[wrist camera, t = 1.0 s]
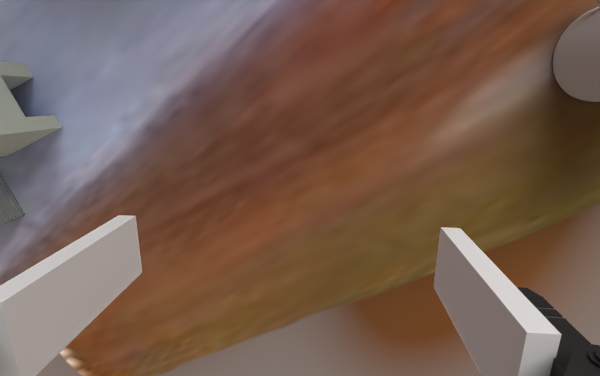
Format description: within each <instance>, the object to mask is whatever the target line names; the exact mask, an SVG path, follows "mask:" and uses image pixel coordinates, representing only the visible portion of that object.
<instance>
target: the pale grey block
mask: <svg viewBox="0 0 600 376" xmlns="http://www.w3.org/2000/svg"><path fill="white" fill-rule="evenodd" d="M23 215H25V213H24V212H23V210H22V209H21V207H20V206H19V204H18V203H17V201H16V199H15V198H14V196H13V195H12V193H11V192H10V190H9V188H8V187H7V185H6V184H5V182H4V181H3V179H2V178H1V176H0V225H1V224H4V223H7V222H9V221H12V220H14V219H17V218H19V217H21V216H23Z"/></svg>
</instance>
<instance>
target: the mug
mask: <svg viewBox="0 0 600 376" xmlns="http://www.w3.org/2000/svg"><path fill="white" fill-rule="evenodd" d="M598 2H599V7H597V8H595V9H592V10H590V11H588V12H586V13H584V14H583V15H581V16H580V17H578V18H577V19H576V20H574V21H573V22H572V23H571V24H570V25H569V26H568V27H567V28H566V30H565V31H564V32H563V34H562V35H561V37H560V39H559V40H558V42H557V45H556V47H555V51H554V55H553V71H554V75H555V78H556V80H557V83H558V84H559V86H560V87H561V88H562V89H563V90H564V91H565V92H566V93H567V94H569V95H570V96H572V97H574V98H577V99H579V100H583V101H590V102H600V0H598Z"/></svg>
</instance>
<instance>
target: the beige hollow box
mask: <svg viewBox="0 0 600 376" xmlns="http://www.w3.org/2000/svg"><path fill="white" fill-rule="evenodd" d="M31 78H33V76H32V74H31V72H30V71H29V69H28V67H27V65H26V64H21V63H12V62H2V61H0V157H3V156H8V155H10V154H12V153H14V152H16V151H18V150H20V149H22V148H24V147H26V146H28V145H30V144H32V143H33V142H35V141H37V140H39V139H41V138H43V137H45V136H47V135H49V134H51V133H53V132H55V131H57V130H59V129H61V128H63V127H62V125H61V124H60V122H59V120H58V119H57V117H56V115H48V116H33V117H25V115H24V113H23V112H22V110H21V109H20V107H19V105H18V104H17V102H16V100H15V99H14V97H13V95H12V94H11V92H10V90H11V89H13V88H15V87H17V86H18V85H20V84H22V83H24V82H26V81H27V80H29V79H31Z"/></svg>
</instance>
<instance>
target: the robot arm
mask: <svg viewBox="0 0 600 376" xmlns="http://www.w3.org/2000/svg"><path fill="white" fill-rule="evenodd" d="M141 273H142V265H141V257H140V249H139V240H138V232H137V224H136V216H125V215H119V216H117V217H115V218H113V219H112V220H110V221H108V222H107V223H105V224H103V225H102V226H100V227H98V228H97V229H95V230H93V231H92V232H90V233H88V234H86V235H85V236H83V237H81V238H80V239H78V240H76V241H75V242H73V243H71V244H70V245H68V246H66V247H64V248H63V249H61V250H59V251H58V252H56V253H54V254H53V255H51V256H49V257H48V258H46V259H44V260H43V261H41V262H39V263H37V264H36V265H34V266H32V267H31V268H29V269H27V270H26V271H23V272H21V273H20V274H18V275H16V276H15V277H13V278H11V279H10V280H9V281H7V282H4V283H3V284H1V285H0V376H36V375H37V374H38V373H39V372H40V371H41V370H42V369H43V368H44V367H45V366H46V365H47V364H48V363H49V362H50V361H51V360H52V359H54V358H55V357H56V356H57V355H58V354H59V353H60V352H61V351H62V350H63V349H64V348H65V347H66V346H67V345H68V344H69V343H70V342H71V341H72V340H73V339H74V338H75V337H76V336H77V335H78V334H79V333H80V332H81V331H82V330H83V329H84V328H85V327H86V326H87V325H89V324H90V323H91V322H92V321H93V320H94V319H95V318H96V317H97V316H98V315H99V314H100V313H101V312H102V311H103V310H104V309H105V308H106V307H107V306H108V305H109V304H110V303H111V302H112V301H113V300H114V299H115V298H116V297H117V296H118V295H119V294H120V293H121V292H122V291H124V290H125V289H126V288H127V287H128V286H129V285H130V284H131V283H132V282H133V281H134V280H135V279H136V278H137V277H138V276H139V275H140V274H141ZM434 288H435V290H436V292H437V294H438V296H439V298H440V299H441V301H442V303H443V305H444V307H445V309H446V311H447V313H448V315H449V316H450V318H451V320H452V322H453V324H454V326H455V328H456V330H457V331H458V333H459V335H460V337H461V339H462V341H463V342H464V345H465V346H466V348H467V350H468V352H469V354H470V356H471V358H472V359H473V361H474V363H475V365H476V367H477V369H478V371H479V373H480V375H481V376H600V346H599V345H592V344H591V343H590V342H589V341H588V340H586V339H585V338H584V337H583V336H582V335H581V334H580V333H579V332H578V331H577V330H576V329H575V328H574V327H573V326H572V325H571V324H570V323H569V322H568V321H567V320H566V319H565V318H562V315H561V314H559V312H557V311H556V310H554V309H553V307H552V306H551V305H550V304H549V303H548V302H547V301H546V300H545V299H544V298H543V297H541V296H539V295H538V294H536V293H535V292H533V291H531V290H530V289H528V288H519V287H516V286H515V285H514V284H513V283H512V282H511V281H510V280H509V279H508V278H507V277H506V276H505V275H504V274H503V273H502V272H501V271H500V270H499V269H498V267H496V265H495V264H494V263H493V262H492V261H491V260H490V259H489V258H488V257H487V256H486V255H485V254H484V253H483V252H482V251H481V250H480V249H479V248H478V246H477V245H476V244H475V243H474V242H473V241H472V240H471V239H470V238H469V237H468V236H467V235H466V234H465V233H464V232H463V231H462V230H461V229H460V228H443V227H441V231H440V239H439V247H438V255H437V263H436V271H435V280H434Z"/></svg>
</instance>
